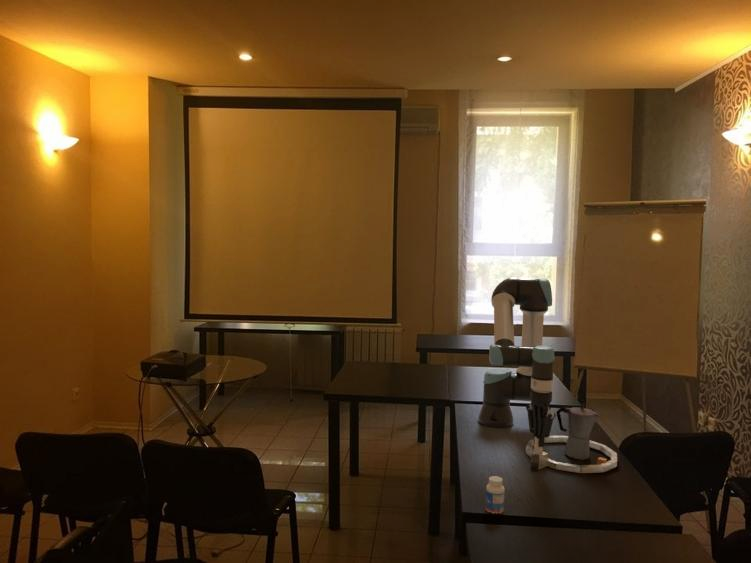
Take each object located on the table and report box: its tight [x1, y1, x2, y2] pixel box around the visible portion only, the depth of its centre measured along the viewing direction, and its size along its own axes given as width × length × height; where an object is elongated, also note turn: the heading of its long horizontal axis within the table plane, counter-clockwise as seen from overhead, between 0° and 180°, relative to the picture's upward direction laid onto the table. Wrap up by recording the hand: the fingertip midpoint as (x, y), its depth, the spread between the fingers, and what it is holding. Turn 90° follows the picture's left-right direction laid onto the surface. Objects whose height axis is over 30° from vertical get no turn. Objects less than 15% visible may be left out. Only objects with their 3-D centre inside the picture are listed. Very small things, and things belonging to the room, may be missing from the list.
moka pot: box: [555, 403, 601, 461], centre depth 222 cm, size 10×15×20 cm, turn 76°
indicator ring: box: [525, 435, 618, 474], centre depth 219 cm, size 32×39×5 cm
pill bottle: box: [485, 475, 505, 514], centre depth 177 cm, size 6×5×10 cm
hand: (538, 454), depth 212 cm, fingers closed
